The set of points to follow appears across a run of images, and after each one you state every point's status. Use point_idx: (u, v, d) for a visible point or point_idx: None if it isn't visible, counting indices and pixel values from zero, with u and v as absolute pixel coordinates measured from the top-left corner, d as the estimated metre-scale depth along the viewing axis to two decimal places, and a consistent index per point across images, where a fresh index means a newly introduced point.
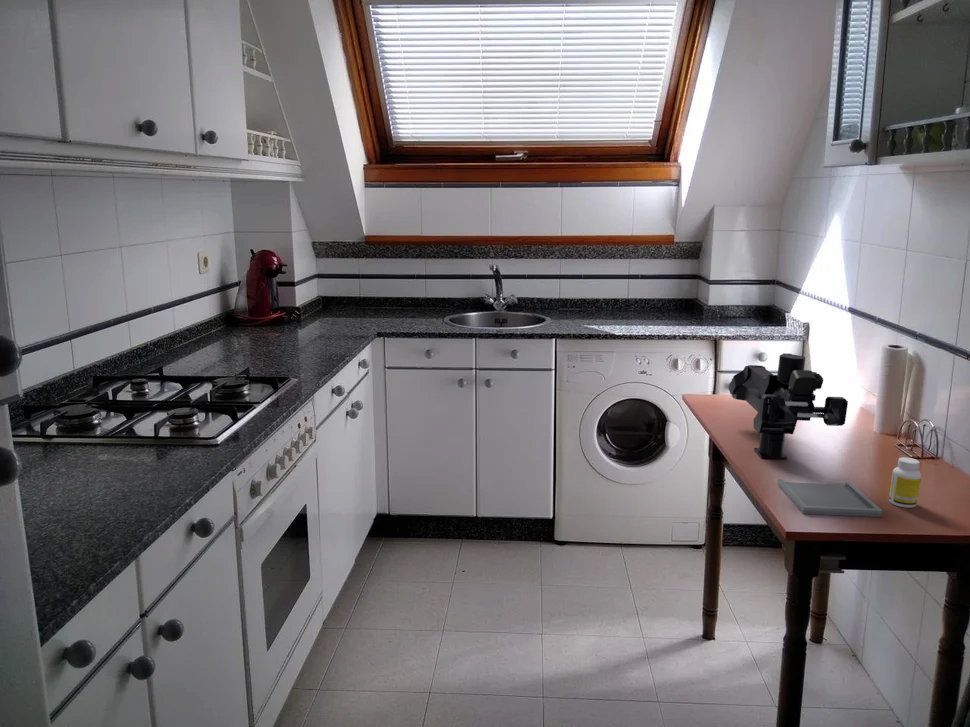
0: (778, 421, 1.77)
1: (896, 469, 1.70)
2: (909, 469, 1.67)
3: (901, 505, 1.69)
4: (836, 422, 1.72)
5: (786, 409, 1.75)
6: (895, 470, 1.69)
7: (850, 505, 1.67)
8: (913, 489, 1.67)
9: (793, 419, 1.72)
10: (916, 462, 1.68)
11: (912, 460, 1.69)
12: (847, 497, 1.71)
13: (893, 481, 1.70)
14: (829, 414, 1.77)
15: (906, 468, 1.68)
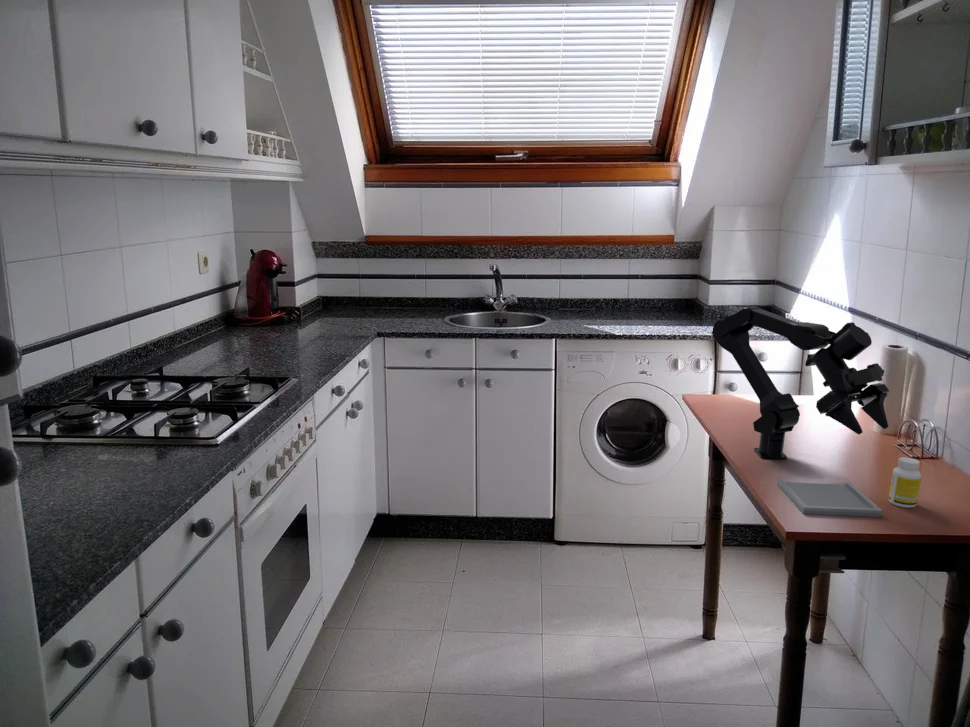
0: (836, 419, 1.75)
1: (896, 469, 1.70)
2: (909, 469, 1.67)
3: (901, 505, 1.69)
4: (883, 426, 1.77)
5: (853, 416, 1.73)
6: (895, 470, 1.69)
7: (850, 505, 1.67)
8: (913, 489, 1.67)
9: (858, 432, 1.73)
10: (916, 462, 1.68)
11: (912, 460, 1.69)
12: (847, 497, 1.71)
13: (893, 481, 1.70)
14: (872, 405, 1.80)
15: (906, 468, 1.68)
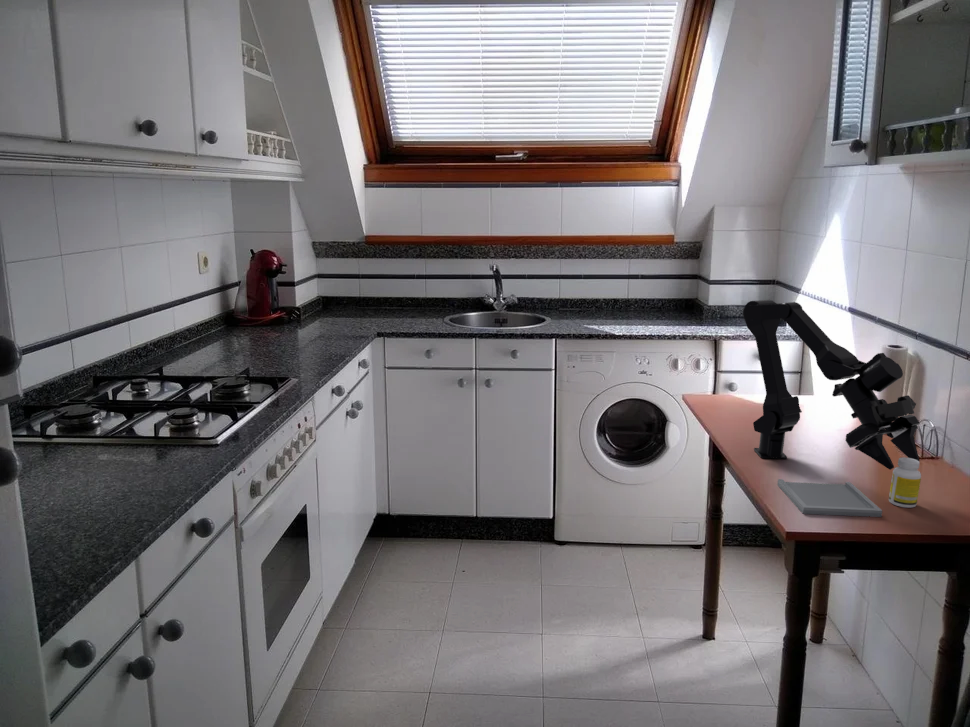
0: (866, 453, 1.70)
1: (896, 469, 1.70)
2: (909, 469, 1.67)
3: (901, 505, 1.69)
4: None
5: (884, 450, 1.68)
6: (895, 470, 1.69)
7: (850, 505, 1.67)
8: (912, 489, 1.67)
9: (890, 467, 1.67)
10: (916, 462, 1.68)
11: (912, 460, 1.69)
12: (847, 497, 1.71)
13: (893, 481, 1.70)
14: (902, 438, 1.75)
15: (906, 468, 1.68)
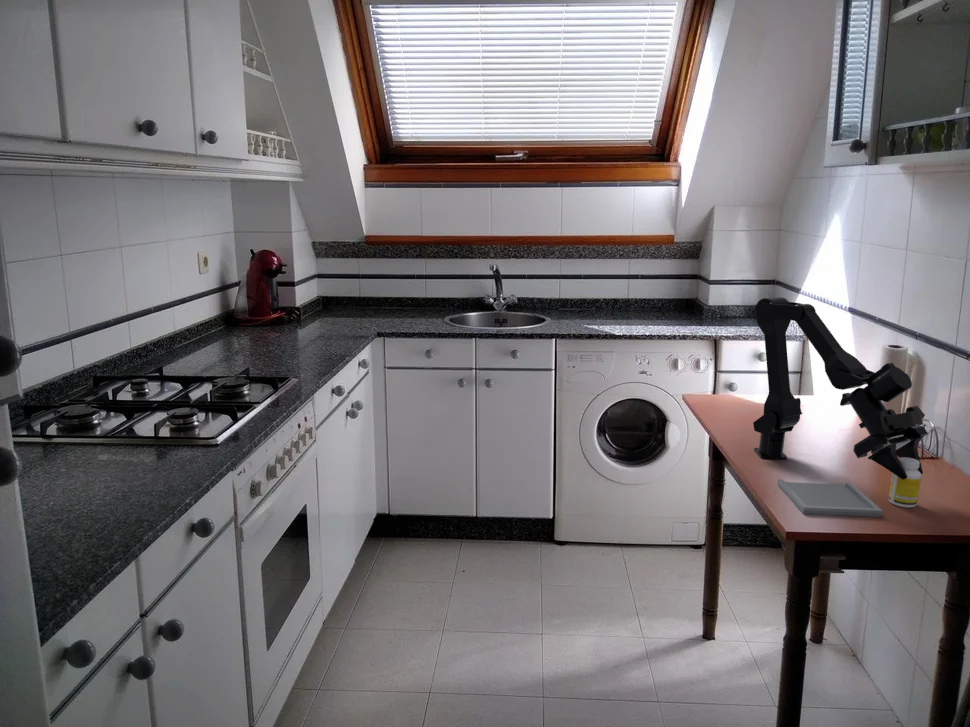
0: (879, 462, 1.70)
1: None
2: (909, 469, 1.67)
3: (901, 505, 1.69)
4: None
5: (897, 460, 1.67)
6: None
7: (850, 505, 1.67)
8: (913, 489, 1.67)
9: (903, 477, 1.67)
10: (916, 462, 1.68)
11: (912, 460, 1.69)
12: (847, 497, 1.71)
13: (893, 481, 1.70)
14: (905, 450, 1.73)
15: (906, 468, 1.68)
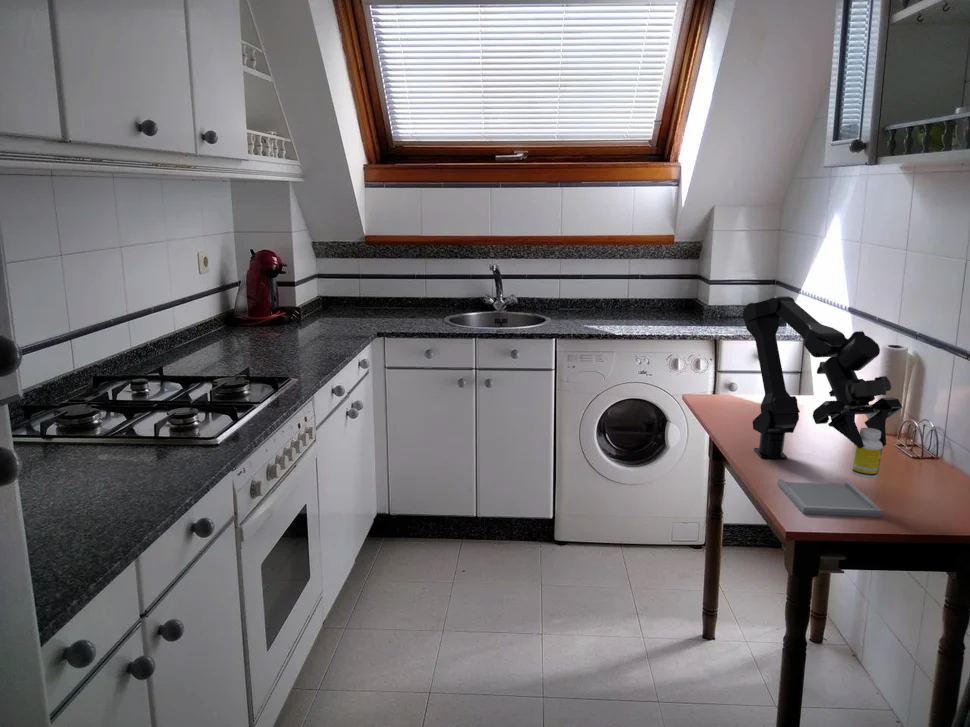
0: (839, 430, 1.69)
1: None
2: (868, 439, 1.66)
3: (858, 475, 1.67)
4: None
5: (855, 428, 1.66)
6: None
7: (850, 505, 1.67)
8: (870, 460, 1.65)
9: (859, 445, 1.66)
10: (876, 432, 1.65)
11: (874, 430, 1.67)
12: (847, 497, 1.71)
13: (853, 450, 1.68)
14: (873, 420, 1.70)
15: (865, 438, 1.66)
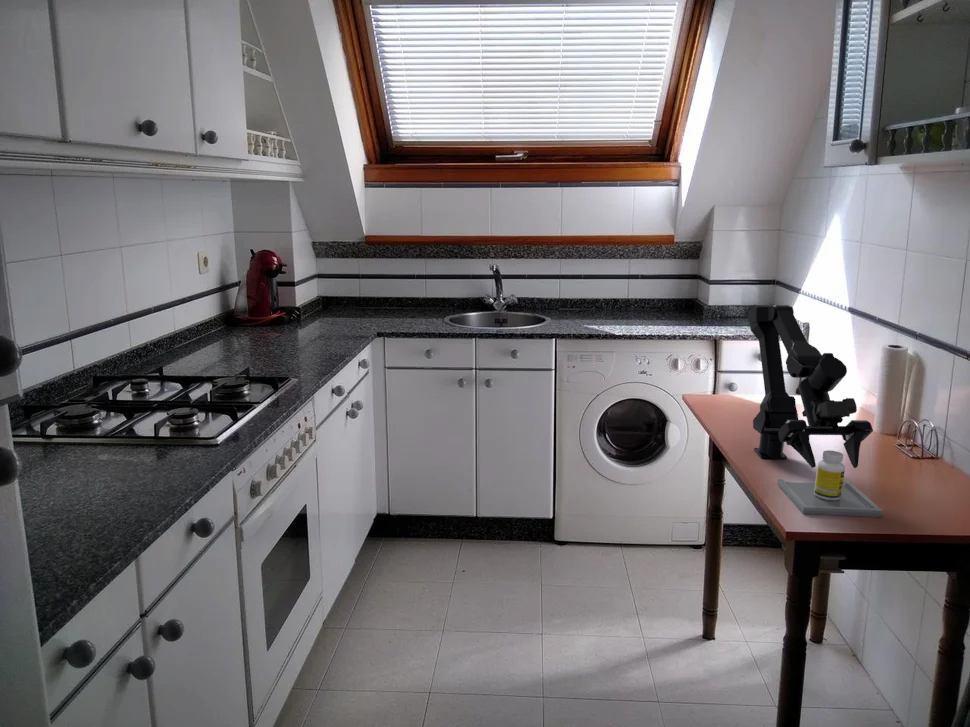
0: (796, 449, 1.72)
1: None
2: (828, 461, 1.68)
3: (819, 496, 1.70)
4: (853, 465, 1.69)
5: (808, 448, 1.69)
6: None
7: (850, 505, 1.67)
8: (830, 482, 1.68)
9: (812, 465, 1.68)
10: (837, 455, 1.68)
11: (836, 454, 1.69)
12: (847, 497, 1.71)
13: None
14: (849, 442, 1.72)
15: (826, 460, 1.69)
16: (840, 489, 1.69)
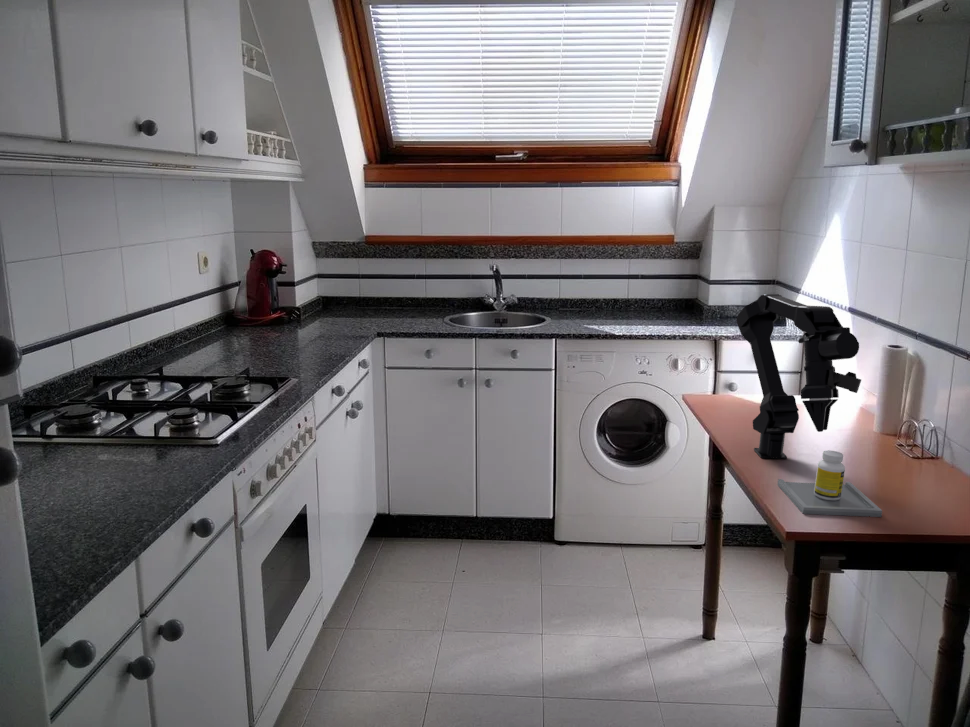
0: (808, 409, 1.75)
1: (820, 461, 1.71)
2: (828, 461, 1.68)
3: (819, 496, 1.70)
4: (822, 427, 1.83)
5: (824, 414, 1.74)
6: (819, 461, 1.71)
7: (850, 505, 1.67)
8: (829, 482, 1.68)
9: (819, 429, 1.75)
10: (837, 455, 1.68)
11: (836, 453, 1.69)
12: (847, 497, 1.71)
13: None
14: None
15: (825, 460, 1.69)
16: (840, 489, 1.69)
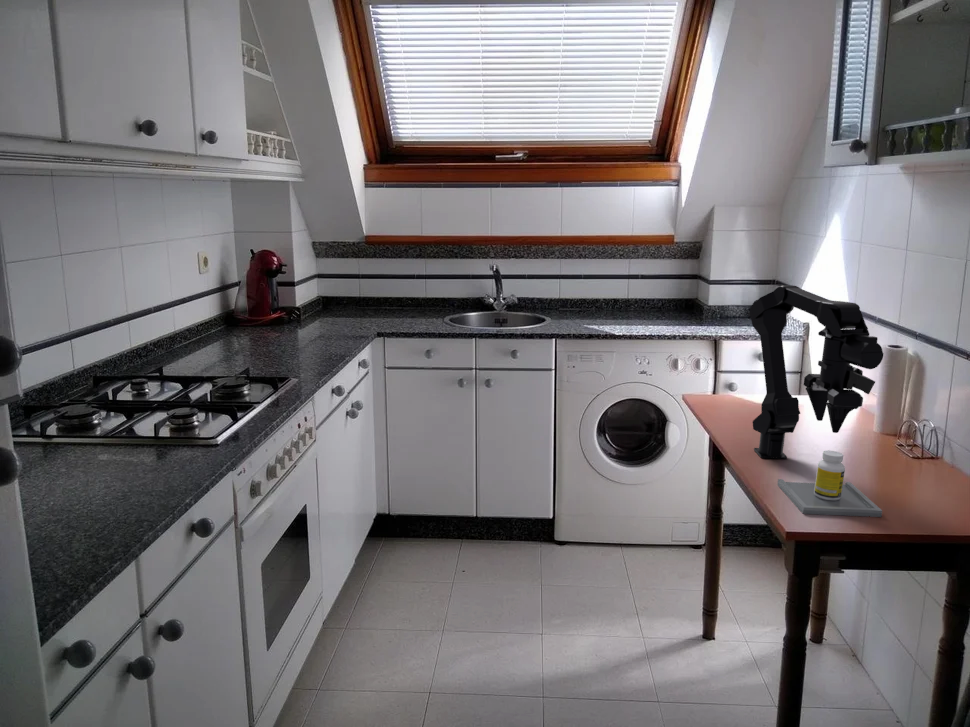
0: (832, 412, 1.73)
1: (820, 461, 1.71)
2: (828, 461, 1.68)
3: (819, 496, 1.70)
4: (818, 418, 1.84)
5: None
6: None
7: (850, 505, 1.67)
8: (829, 482, 1.68)
9: (836, 431, 1.75)
10: (837, 455, 1.68)
11: (836, 453, 1.69)
12: (847, 497, 1.71)
13: None
14: (821, 395, 1.84)
15: (825, 460, 1.69)
16: (840, 489, 1.69)
